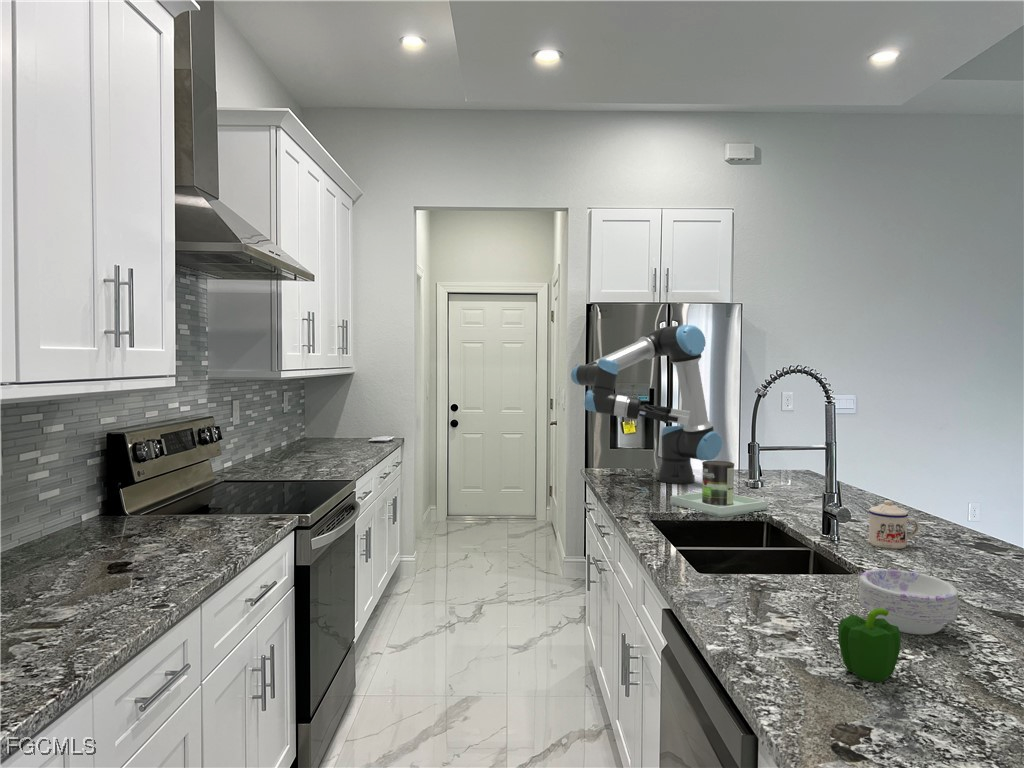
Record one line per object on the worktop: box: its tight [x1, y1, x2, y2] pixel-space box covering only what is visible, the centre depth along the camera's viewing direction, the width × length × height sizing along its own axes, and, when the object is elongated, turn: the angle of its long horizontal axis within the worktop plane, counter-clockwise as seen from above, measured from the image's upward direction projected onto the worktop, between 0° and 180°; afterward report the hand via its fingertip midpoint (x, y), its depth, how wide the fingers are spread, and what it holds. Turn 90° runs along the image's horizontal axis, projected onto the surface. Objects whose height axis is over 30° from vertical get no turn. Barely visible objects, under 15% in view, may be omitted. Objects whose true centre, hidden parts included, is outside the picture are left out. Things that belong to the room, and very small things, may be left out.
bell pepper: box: [837, 608, 902, 683], centre depth 97 cm, size 8×8×10 cm
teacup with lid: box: [868, 499, 920, 550], centre depth 171 cm, size 12×9×12 cm
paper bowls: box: [858, 569, 959, 636], centre depth 117 cm, size 15×15×8 cm
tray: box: [669, 491, 769, 518], centre depth 218 cm, size 22×22×3 cm
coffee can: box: [701, 460, 735, 507], centre depth 218 cm, size 10×10×14 cm
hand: (688, 418), depth 226 cm, fingers open, 13 cm apart
